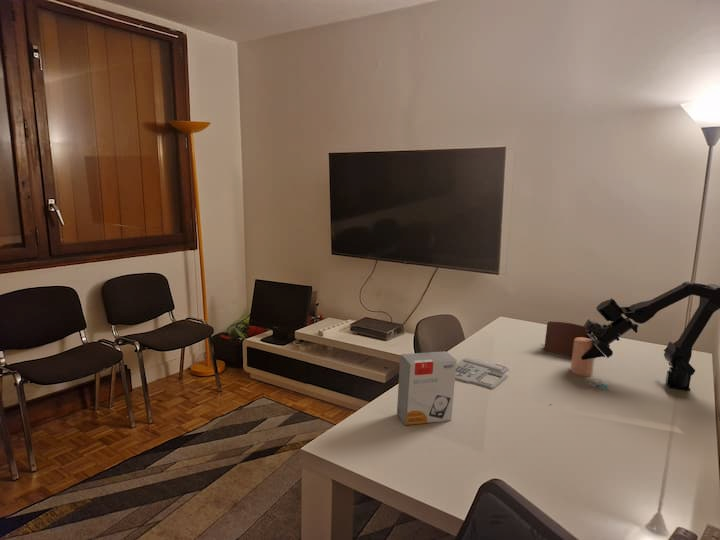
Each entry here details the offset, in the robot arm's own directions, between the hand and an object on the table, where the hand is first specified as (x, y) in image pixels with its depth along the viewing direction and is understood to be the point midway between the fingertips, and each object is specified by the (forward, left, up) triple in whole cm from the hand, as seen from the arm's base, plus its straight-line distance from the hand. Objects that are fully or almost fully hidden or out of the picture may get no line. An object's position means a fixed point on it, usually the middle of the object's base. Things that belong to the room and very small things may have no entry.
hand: (579, 355), depth 180 cm
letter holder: (+1, -25, -8) cm, 27 cm away
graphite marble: (-4, +12, -6) cm, 14 cm away
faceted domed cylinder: (-1, 0, -7) cm, 7 cm away
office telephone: (+35, +14, -9) cm, 39 cm away
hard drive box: (+46, +56, -8) cm, 73 cm away
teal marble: (-8, +12, -6) cm, 16 cm away
